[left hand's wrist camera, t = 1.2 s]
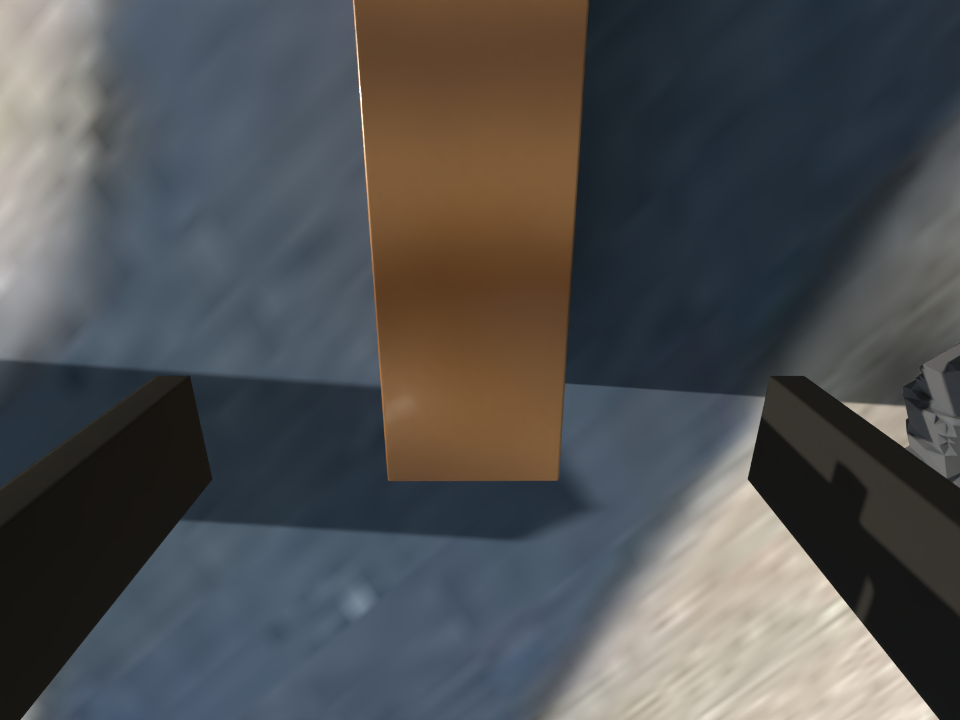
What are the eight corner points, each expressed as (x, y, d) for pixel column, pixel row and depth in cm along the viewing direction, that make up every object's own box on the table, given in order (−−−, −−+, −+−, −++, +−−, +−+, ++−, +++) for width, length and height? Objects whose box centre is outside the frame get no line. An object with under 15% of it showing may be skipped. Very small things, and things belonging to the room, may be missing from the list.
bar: (532, 373, 25) (559, 481, 17) (416, 374, 25) (387, 482, 17) (556, -237, 18) (626, -573, 9) (387, -238, 18) (309, -577, 9)
